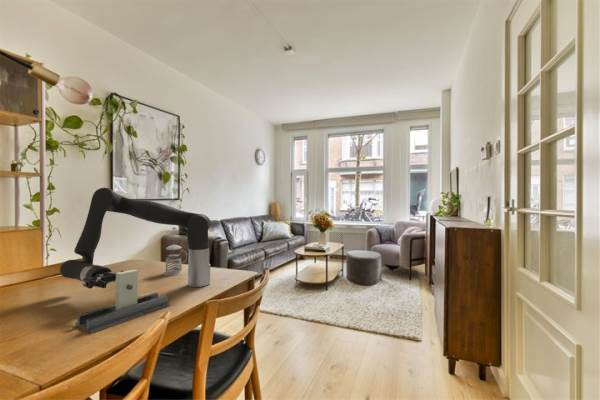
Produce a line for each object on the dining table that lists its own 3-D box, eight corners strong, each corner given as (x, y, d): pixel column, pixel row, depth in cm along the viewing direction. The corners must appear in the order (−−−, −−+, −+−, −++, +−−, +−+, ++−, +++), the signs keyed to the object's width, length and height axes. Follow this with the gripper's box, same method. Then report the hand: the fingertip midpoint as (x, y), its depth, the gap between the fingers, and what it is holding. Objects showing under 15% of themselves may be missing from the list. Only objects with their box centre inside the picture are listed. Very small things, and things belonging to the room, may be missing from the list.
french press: (164, 271, 155) (165, 226, 155) (187, 269, 159) (187, 226, 159) (162, 276, 146) (163, 228, 146) (186, 274, 150) (187, 227, 150)
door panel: (133, 308, 100) (134, 269, 100) (138, 310, 99) (139, 270, 99) (115, 314, 95) (116, 273, 95) (120, 316, 93) (121, 274, 93)
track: (153, 300, 111) (154, 291, 111) (169, 305, 106) (169, 296, 106) (75, 325, 88) (75, 314, 88) (90, 333, 83) (90, 322, 83)
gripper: (74, 269, 102) (96, 276, 94) (115, 262, 114) (138, 267, 106) (73, 290, 102) (95, 298, 94) (115, 280, 114) (138, 287, 106)
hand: (118, 282), depth 100 cm, fingers open, 8 cm apart
